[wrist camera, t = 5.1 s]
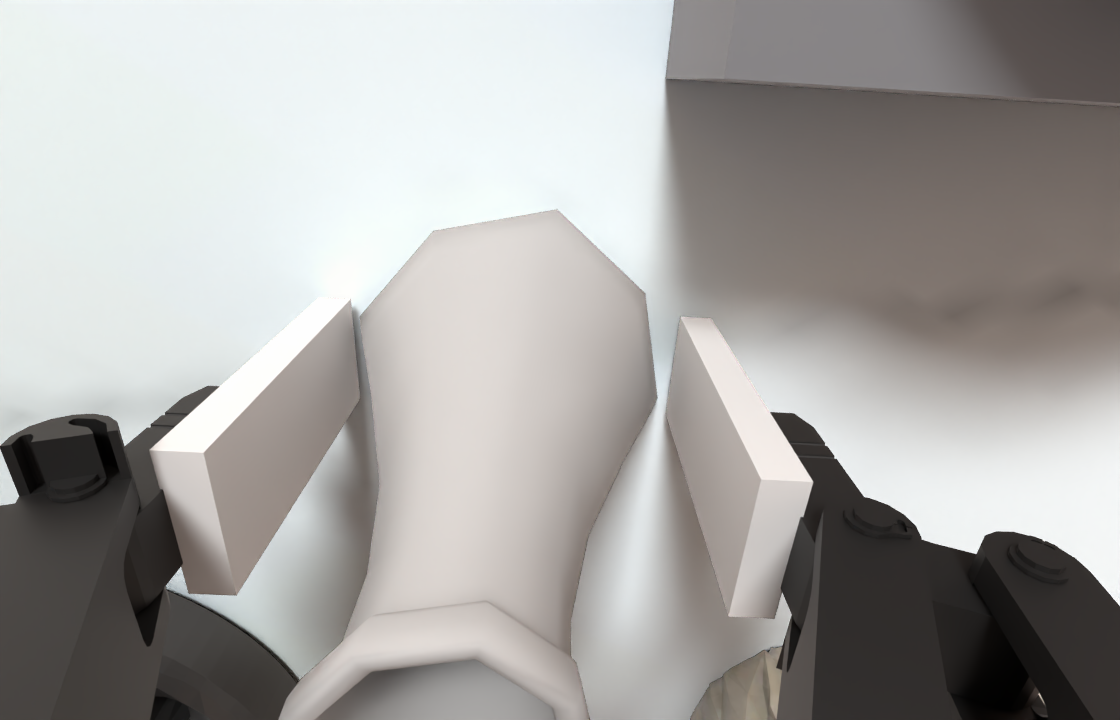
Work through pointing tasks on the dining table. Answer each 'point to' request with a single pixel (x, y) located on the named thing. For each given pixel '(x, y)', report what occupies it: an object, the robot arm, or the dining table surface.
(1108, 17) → the base
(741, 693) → the ceramic cottage
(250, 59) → the dining table surface
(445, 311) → the flask
